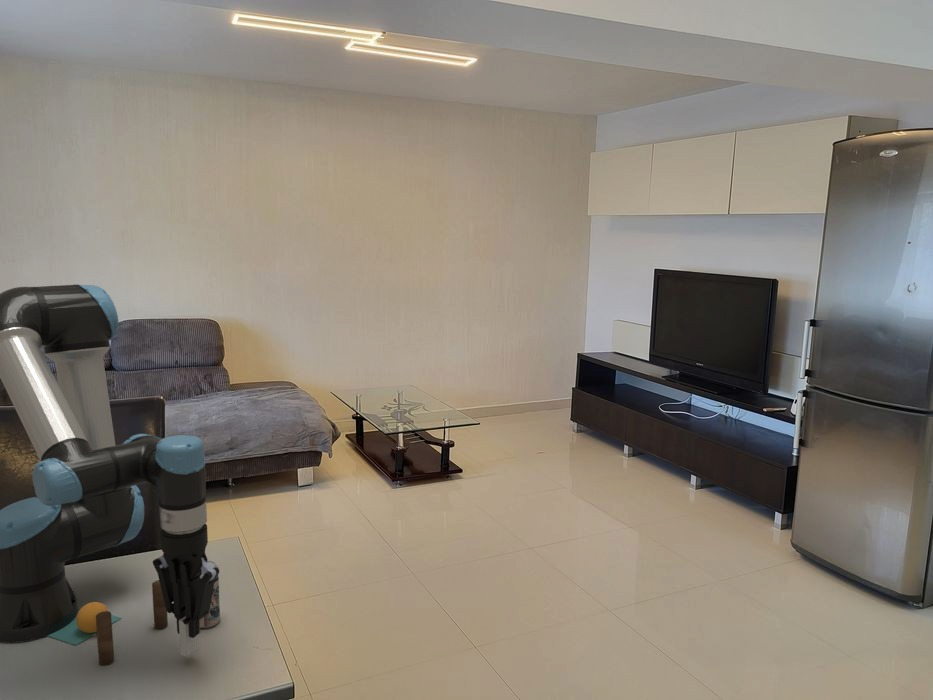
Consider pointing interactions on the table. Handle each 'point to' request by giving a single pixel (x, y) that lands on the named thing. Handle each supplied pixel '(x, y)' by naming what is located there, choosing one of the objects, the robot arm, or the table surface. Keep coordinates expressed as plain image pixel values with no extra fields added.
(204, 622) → the beer can
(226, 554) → the table surface
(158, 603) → the post
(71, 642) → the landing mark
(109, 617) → the post
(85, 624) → the ball
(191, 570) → the robot arm
